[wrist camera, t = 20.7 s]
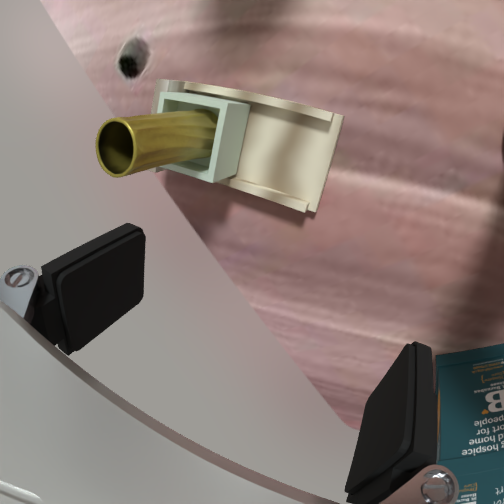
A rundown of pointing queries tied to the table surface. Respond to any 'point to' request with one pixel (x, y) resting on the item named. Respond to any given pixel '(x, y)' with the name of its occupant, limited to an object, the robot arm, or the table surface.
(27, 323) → the robot arm
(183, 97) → the box
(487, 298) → the table surface
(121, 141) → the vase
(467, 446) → the donation box
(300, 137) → the cream rectangular tray
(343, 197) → the table surface
